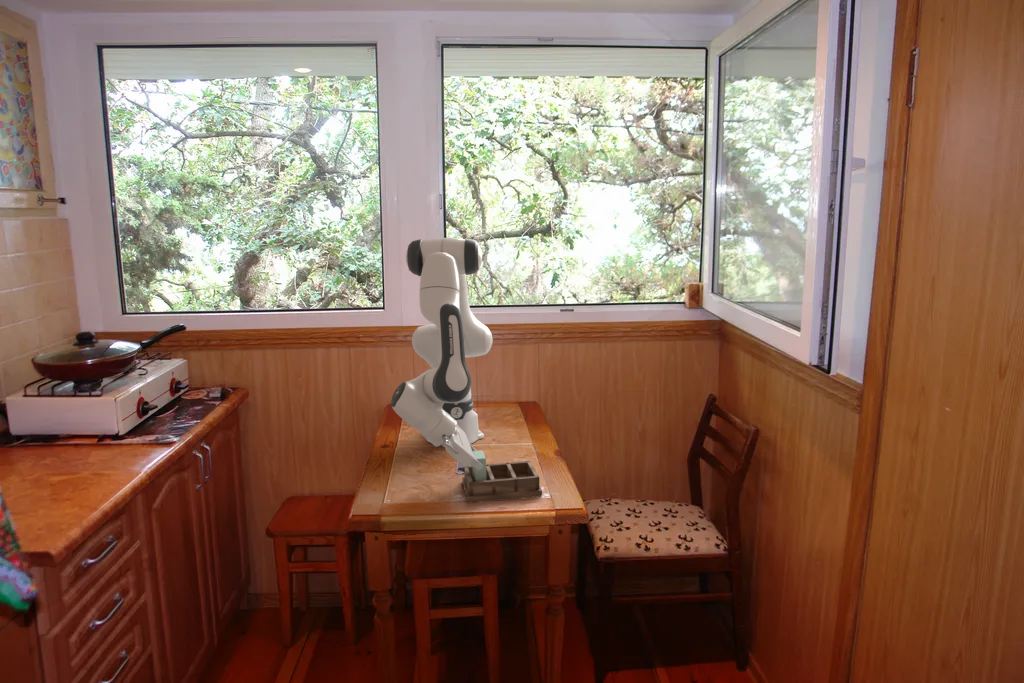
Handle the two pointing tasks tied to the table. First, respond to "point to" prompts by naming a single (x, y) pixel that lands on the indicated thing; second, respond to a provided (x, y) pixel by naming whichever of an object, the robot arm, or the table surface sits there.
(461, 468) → the mobile phone
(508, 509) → the table surface
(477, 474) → the sage block
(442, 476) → the table surface
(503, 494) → the walnut rack
